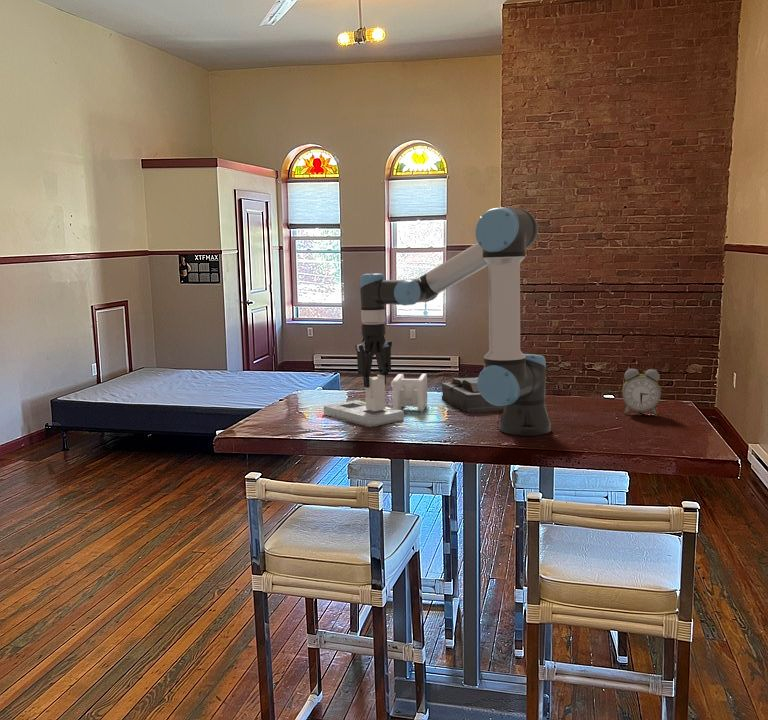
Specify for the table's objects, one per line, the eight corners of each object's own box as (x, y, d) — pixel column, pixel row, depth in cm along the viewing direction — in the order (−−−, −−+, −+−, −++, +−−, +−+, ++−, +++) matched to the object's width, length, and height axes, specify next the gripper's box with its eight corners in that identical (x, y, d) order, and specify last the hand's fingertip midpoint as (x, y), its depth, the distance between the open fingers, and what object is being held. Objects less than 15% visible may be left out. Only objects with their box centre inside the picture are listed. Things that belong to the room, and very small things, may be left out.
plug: (385, 409, 233) (384, 378, 231) (374, 411, 230) (373, 379, 228) (374, 406, 237) (373, 376, 235) (363, 408, 234) (362, 377, 233)
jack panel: (403, 419, 234) (403, 410, 233) (370, 427, 225) (370, 417, 224) (356, 408, 252) (356, 399, 251) (323, 414, 243) (323, 405, 242)
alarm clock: (621, 415, 235) (623, 369, 233) (621, 411, 242) (622, 366, 239) (660, 417, 232) (662, 370, 229) (659, 413, 238) (660, 367, 236)
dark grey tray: (452, 414, 242) (452, 385, 240) (439, 398, 268) (439, 371, 267) (521, 412, 244) (522, 383, 242) (501, 396, 271) (501, 370, 269)
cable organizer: (422, 414, 241) (422, 380, 239) (391, 414, 242) (390, 379, 241) (427, 405, 255) (427, 372, 254) (397, 404, 257) (397, 372, 255)
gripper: (386, 320, 237) (388, 390, 241) (343, 324, 226) (346, 398, 229) (401, 321, 232) (403, 393, 235) (359, 326, 220) (361, 401, 224)
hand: (375, 396), depth 232 cm, fingers closed on plug, 4 cm apart
